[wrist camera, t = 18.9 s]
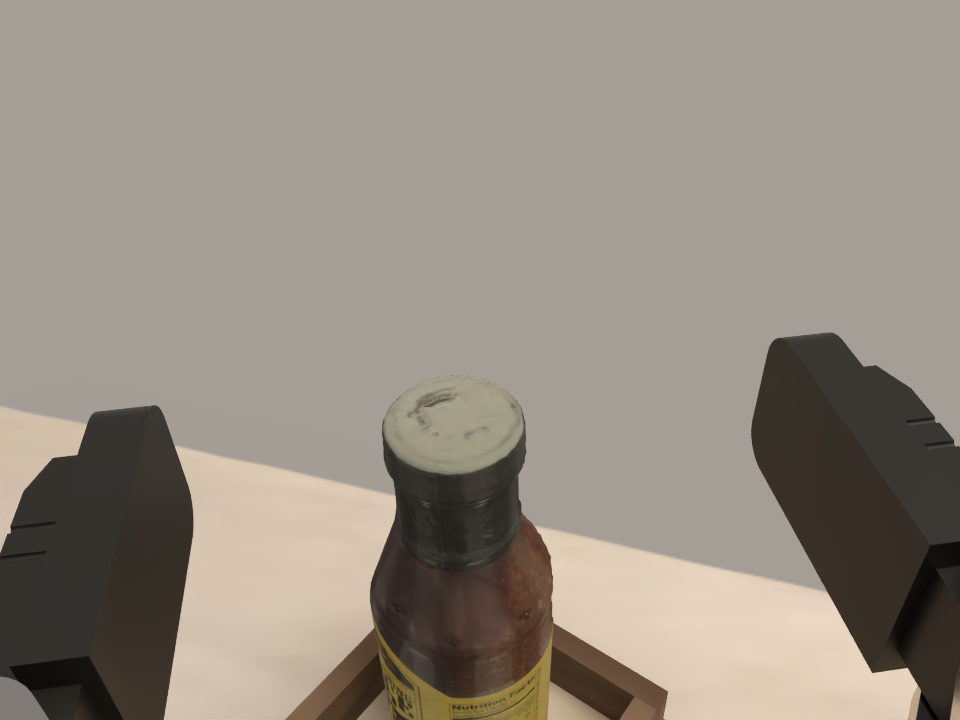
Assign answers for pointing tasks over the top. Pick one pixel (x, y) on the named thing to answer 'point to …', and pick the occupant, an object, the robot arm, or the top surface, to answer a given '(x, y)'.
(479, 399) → the sauce bottle
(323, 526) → the top surface
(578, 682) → the frame
